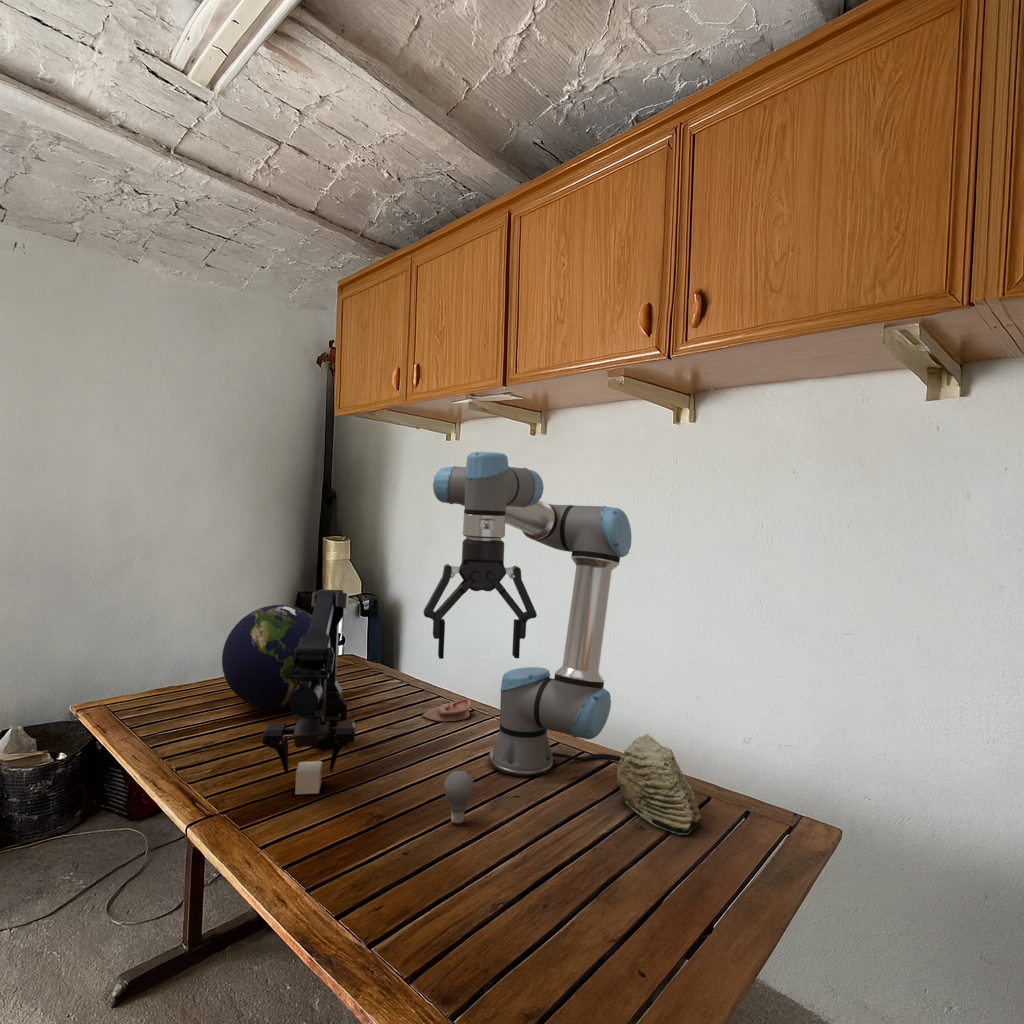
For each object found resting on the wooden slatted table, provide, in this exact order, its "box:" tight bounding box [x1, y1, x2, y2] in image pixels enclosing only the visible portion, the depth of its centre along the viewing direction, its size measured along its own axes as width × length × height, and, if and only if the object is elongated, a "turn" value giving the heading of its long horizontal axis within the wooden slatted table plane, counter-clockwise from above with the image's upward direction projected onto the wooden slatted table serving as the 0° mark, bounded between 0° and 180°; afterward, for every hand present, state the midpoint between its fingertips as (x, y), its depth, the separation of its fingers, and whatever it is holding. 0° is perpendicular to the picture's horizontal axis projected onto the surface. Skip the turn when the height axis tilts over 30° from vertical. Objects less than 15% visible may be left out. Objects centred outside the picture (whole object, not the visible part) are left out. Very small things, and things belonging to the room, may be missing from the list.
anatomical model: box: [422, 698, 471, 722], centre depth 187 cm, size 13×4×12 cm
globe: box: [221, 604, 313, 709], centre depth 188 cm, size 30×30×30 cm
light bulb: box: [443, 770, 475, 824], centre depth 125 cm, size 6×6×10 cm
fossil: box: [616, 733, 702, 836], centre depth 132 cm, size 9×18×15 cm, turn 46°
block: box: [294, 760, 323, 795], centre depth 137 cm, size 5×5×5 cm
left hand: (309, 771), depth 137 cm, fingers open, 9 cm apart
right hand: (478, 656), depth 114 cm, fingers open, 13 cm apart
